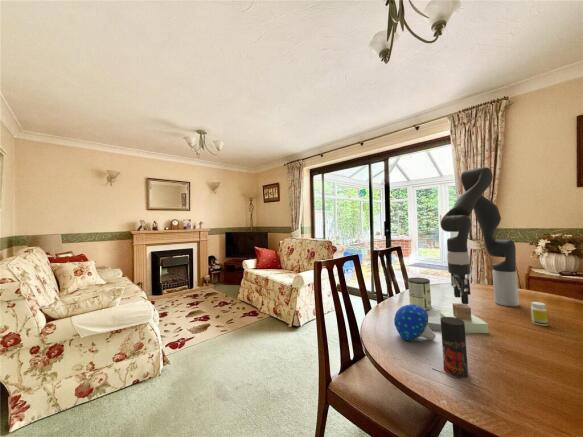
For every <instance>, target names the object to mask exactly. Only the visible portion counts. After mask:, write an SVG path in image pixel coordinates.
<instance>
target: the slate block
mask: <svg viewBox="0 0 583 437" xmlns="http://www.w3.org/2000/svg"><path fill="white" fill-rule="evenodd" d="M427 325H428V326H429V328H430V329H431V330H432V331H438V332H439V331H440V332H441V318H440V317H436V316H428V324H427Z"/></svg>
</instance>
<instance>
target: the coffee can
mask: <svg viewBox="0 0 583 437" xmlns="http://www.w3.org/2000/svg"><path fill="white" fill-rule="evenodd" d="M407 281H408V297H409V305H417V306H420V307H422V308H423V309H424V310H425V311H426V310H430V309H433V308H432V297H431V295H432V294H431V283H430V282H431V280H430V279H429V278H425V277H419V276H418V277H415V276H414V277H408V278H407Z"/></svg>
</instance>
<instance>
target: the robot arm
mask: <svg viewBox="0 0 583 437" xmlns="http://www.w3.org/2000/svg"><path fill="white" fill-rule="evenodd" d="M460 181H461V184H462V187H463V189H464V190H465V192H463V193H462V194H461V195H459V196H458V198H457V199H456V201H455V203H454V205H453V207H452V208H451V209H450V210H448V212H446V213H445V215H443V217H442V218H441V221H440V227H441V229H442V230H443V231H444V232H446V233H455V232H456V233H457V235H456V236H453V237H449V238H447V239H446V246H447V255H446V256H447V270H448V273H449V274H450V282H451V286H452V288H453V295H454V297H455V298H458V299H459V298H460V301H461V304H467V305H468V304H469V296H471V294H472V293H471V285H470V279H468V278H466V276H467V275H470V273H471V268H470V266H471V265H470V256H469V252H468V250H469V249H468V239H469V235H470V232H471V231H470V230H471V228H472V227H471V226H472V221H471V219H470V215H471V214H472V212H473V211H474V215H475V217H476V221H477V222H478V226H479V228H480V230H481V233H482V236H483V241H484V245H485V247H486V248H485V249H486V251H487V254H488V255H489V256H491V257H494V258H495V257H497V258H504V260H503V261H501V262H497V263H493V264H492V265H491V271H492V282H493V284H492V285H493V296H494V303H495V304H498V305H501V306H505V307H518V306H519V305H520V302H519V289H518V288H519V287H518V277H517V261H516V260H517V259H516V256H517V254H516V252H517V250H516V249H517V248H516V245H515V242H514V240H512V239H496V238H495V237H494V233H495V232H496V229H497V228H498V227H499V225H500V223H501V220H502V217H501V214H500V211H499V208H498V206H497V205H496V204H495V203H494V202H492V200H490V199H488V198H487V197H485V196H484V193H485V192H486V191H487V189H488V188H489V186H490V185H491V184H492V181H493V172H492V170H491V168H489V167H487V166H485V167H484V166H482V167H477V168H472V169H469V170H464V171H463V172H461V175H460Z"/></svg>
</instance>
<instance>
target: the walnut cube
mask: <svg viewBox="0 0 583 437" xmlns="http://www.w3.org/2000/svg"><path fill="white" fill-rule="evenodd" d="M471 309H472V308H471V306H469V305H468V304H462V303H457V302H453V303H452V312H453V315H454V316H455V317H456V318H458V319H461V320H472V319H471V314H472V310H471Z"/></svg>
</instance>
